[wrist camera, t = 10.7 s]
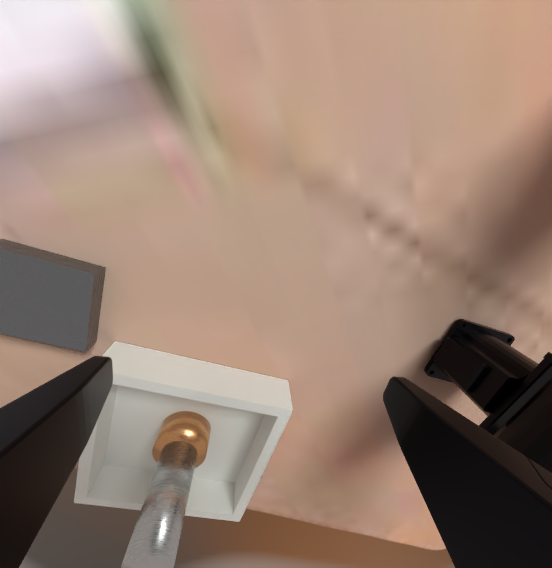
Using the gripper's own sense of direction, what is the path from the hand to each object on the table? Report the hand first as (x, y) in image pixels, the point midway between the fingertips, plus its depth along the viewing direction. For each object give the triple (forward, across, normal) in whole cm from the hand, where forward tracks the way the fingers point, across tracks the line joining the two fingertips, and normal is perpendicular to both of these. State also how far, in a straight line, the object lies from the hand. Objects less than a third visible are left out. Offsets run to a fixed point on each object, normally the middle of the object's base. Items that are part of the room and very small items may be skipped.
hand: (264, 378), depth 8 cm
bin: (+13, +3, +18) cm, 23 cm away
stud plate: (+14, +15, +6) cm, 21 cm away
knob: (+12, +3, +18) cm, 23 cm away
